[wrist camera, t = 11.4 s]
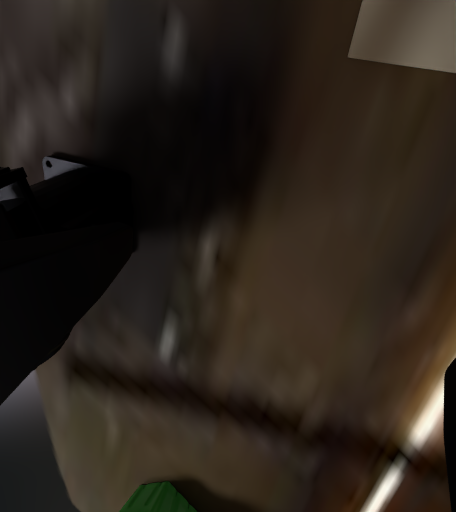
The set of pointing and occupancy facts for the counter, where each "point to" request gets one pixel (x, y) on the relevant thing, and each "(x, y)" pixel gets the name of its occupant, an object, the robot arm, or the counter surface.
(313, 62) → the counter surface
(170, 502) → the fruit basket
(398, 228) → the counter surface
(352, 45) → the collar plate
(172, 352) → the counter surface
